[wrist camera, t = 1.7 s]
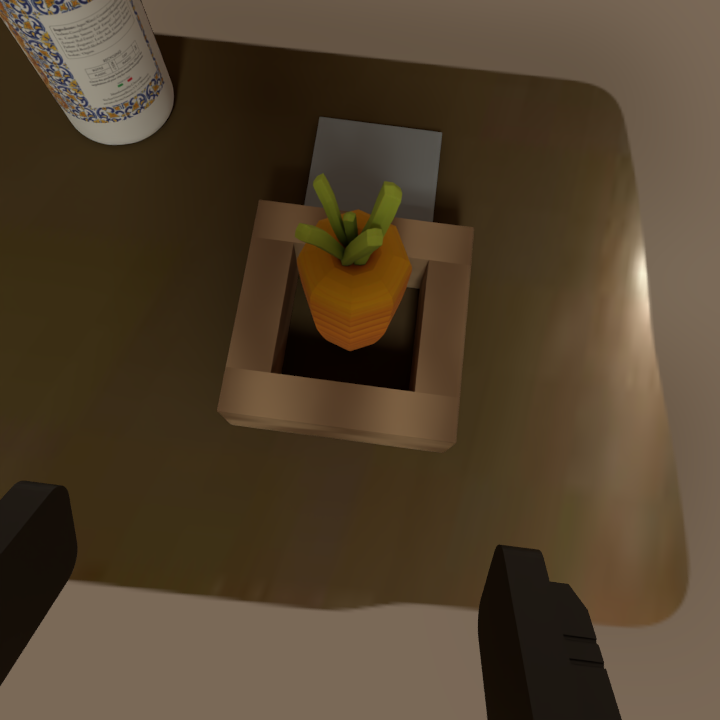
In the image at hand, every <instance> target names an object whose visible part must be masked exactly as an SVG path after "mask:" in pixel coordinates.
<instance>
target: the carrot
mask: <svg viewBox="0 0 720 720" xmlns="http://www.w3.org/2000/svg"><path fill="white" fill-rule="evenodd" d="M313 187H314V189H315V191H316V193H317V195H318V197H319V199H320V201H321V203H322V205H323V208H324V210H325V212H326V215H327V217H328V218H326V219H323V220H319V221H318V223H317V225H316V226H313V225H308V224H303V223H299V224H298V226H297V228H296V231H295V237H296V238H297V239H299V240H301V241H303V242H305V243H306V244H305V245H304V247H303V249H302V250H301V252H300V254H299V256H298V258H297V266H298V270H299V274H300V279H301V282H302V286H303V289H304V292H305V296H306V299H307V302H308V305H309V308H310V311H311V314H312V317H313V319H314V322H315V325H316V328H317V330H318V331H319V333H320V334H321V335H322V336H323V337H324V338H325V339H326V340H327V341H329V342H331V343H333V344H335V345H337V346H339V347H342V348H344V349H346V350H348V351H353V350H356V349H359V348H362V347H365V346H368V345H372V344H374V343H375V342H377V341H378V340H379V339H380V338H381V337H382V336H383V335H384V333H385V331H386V330H387V328H388V326H389V324H390V322H391V320H392V318H393V316H394V314H395V312H396V310H397V308H398V306H399V304H400V302H401V299H402V297H403V295H404V292H405V290H406V287H407V284H408V281H409V278H410V275H411V272H412V266H411V263H410V261H409V258H408V256H407V253H406V250H405V248H404V245H403V243H402V240H401V238H400V235H399V233H398V230H397V228H396V226H394V225H392V224H391V222H392V221H393V219H394V217H395V214H396V212H397V210H398V207H399V205H400V203H401V199H402V191H401V188H400V187H399V186H397V185H396V184H395V183H393V182H387V181H384V183H383V185H382V188H381V190H380V192H379V194H378V197H377V199H376V202H375V205H374V207H373V210H372V213H371V215H370V214H368V213H366V212H363V211H361V210H359V209H357V210H354V211H350V212H346V213H343V214H340V210H339V207H338V204H337V201H336V198H335V195H334V192H333V190H332V188H331V186H330V184H329V182H328V180H327V178H326V177H325V175H324V173H322V174H320V175H318V176H317V177H316V178H315V180H314V181H313Z"/></svg>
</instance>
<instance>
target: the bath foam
mask: <svg viewBox="0 0 720 720" xmlns="http://www.w3.org/2000/svg"><path fill="white" fill-rule="evenodd" d="M0 16H1V18H2V19H3V21H4V22H5V24H6V25H7V27H8V28H9V30H10V31H11V33H12V34H13V36H14V37H15V39H16V41H17V42H18V44H19V45H20V47H21V48H22V50H23V51H24V53H25V54H26V56H27V57H28V59H29V60H30V62H31V63H32V65H33V66H34V68H35V69H36V71H37V72H38V74H39V75H40V77H41V78H42V80H43V81H44V83H45V84H46V86H47V87H48V89H49V90H50V92H51V93H52V95H53V96H54V98H55V99H56V101H57V102H58V104H59V105H60V106H61V108H62V109H63V111H64V112H65V114H66V115H67V117H68V118H69V120H70V121H71V123H72V124H73V125H74V127H75V128H76V129H77V130H78V131H79V132H81V133H82V134H83V135H84V136H86V137H88V138H89V139H91V140H94V141H96V142H99V143H103V144H108V145H123V144H130V143H135V142H138V141H141V140H143V139H146V138H147V137H149V136H151V135H152V134H154V133H155V132H156V131H157V130H159V129H160V128H161V127H162V126H163V124H164V123H165V122H166V120H167V119H168V117H169V115H170V113H171V110H172V107H173V102H174V91H173V86H172V82H171V80H170V77H169V74H168V72H167V69H166V66H165V64H164V61H163V58H162V56H161V55H162V54H161V52H160V49H159V46H158V44H157V41H156V39H155V36H154V33H153V31H152V28H151V25H150V23H149V20H148V18H147V15H146V12H145V9H144V7H143V4H142V2H141V0H0Z"/></svg>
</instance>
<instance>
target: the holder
mask: <svg viewBox="0 0 720 720" xmlns="http://www.w3.org/2000/svg"><path fill="white" fill-rule="evenodd" d="M346 212H350V211H342V210H340V214H343V213H346ZM370 215H371V214H370ZM326 218H328V217H327V215H326V212H325V210H324V208H319V207H312V206H304V205H296V204H289V203H281V202H273V201H266V200H259V203H258V208H257V213H256V218H255V223H254V228H253V233H252V238H251V243H250V248H249V253H248V258H247V263H246V268H245V273H244V278H243V283H242V288H241V293H240V298H239V303H238V308H237V313H236V318H235V323H234V328H233V333H232V338H231V343H230V348H229V353H228V358H227V363H226V368H225V373H224V378H223V383H222V388H221V393H220V398H219V403H218V408H217V411H218V412H219V413H220V414H221V415H222V416H223V417H224V418H225V419H226V420H227V421H228V422H229V423H230V424H231V425H237V426H245V427H252V428H260V429H267V430H274V431H282V432H289V433H297V434H304V435H312V436H319V437H327V438H334V439H342V440H349V441H357V442H364V443H372V444H379V445H387V446H394V447H402V448H409V449H417V450H424V451H432V452H439V453H444V452H445V451H446V450H447V449H449V448H450V447H451V446H453V445H454V444H455V443H456V437H457V426H458V414H459V402H460V390H461V378H462V366H463V354H464V343H465V331H466V319H467V307H468V295H469V283H470V271H471V259H472V248H473V236H474V228H473V227H465V226H458V225H450V224H442V223H435V222H427V221H419V220H412V219H404V218H396V217H394V219H393V221H392V222H391V224H392V225H394V226H396V228H397V230H398V233H399V235H400V238H401V240H402V243H403V245H404V248H405V250H406V253H407V256H408V258H409V261H410V263H411V266H412V272H411V275H410V278H409V281H408V284H407V287H410V288H417V289H420V290H419V299H418V309H417V318H416V327H415V336H414V345H413V354H412V363H411V373H410V382H409V391H404V390H397V389H389V388H382V387H374V386H366V385H359V384H351V383H344V382H336V381H329V380H321V379H314V378H306V377H299V376H291V375H284V374H282V368H283V362H284V356H285V351H286V345H287V339H288V333H289V327H290V321H291V316H292V310H293V304H294V298H295V292H296V287H297V281H298V275H299V270H298V266H297V258H298V256H299V254H300V252H301V250H302V249H303V247H304V245H305V244H306V243H305V242H303V241H301V240H299V239H297V238H296V237H295V231H296V228H297V226H298V224H299V223H303V224H308V225H313V226H316V225H317V223H318V221H319V220H323V219H326Z"/></svg>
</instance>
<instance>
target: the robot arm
mask: <svg viewBox="0 0 720 720" xmlns="http://www.w3.org/2000/svg"><path fill="white" fill-rule="evenodd" d="M76 557H77V540H76V534H75V528H74V522H73V516H72V511H71V505H70V499H69V494H68V491H67V489H66V488H65V487H64V486H61V485H53V484H45V483H38V482H30V481H20V482H18V483H16V484H15V485H14V486H13V487H12V488H11V489H10V490H9V491H8V492H7V493H6V494H5V495H4V497H3V498H2V499H1V500H0V686H1V684H2V682H3V681H4V679H5V678H6V676H7V675H8V673H9V672H10V670H11V668H12V667H13V665H14V664H15V662H16V660H17V659H18V657H19V656H20V654H21V653H22V651H23V649H24V648H25V647H26V645H27V644H28V642H29V640H30V639H31V637H32V636H33V634H34V633H35V631H36V630H37V628H38V626H39V625H40V623H41V622H42V620H43V619H44V617H45V615H46V614H47V612H48V611H49V609H50V608H51V606H52V605H53V603H54V601H55V600H56V598H57V597H58V595H59V593H60V592H61V591H62V589H63V587H64V586H65V584H66V583H67V581H68V579H69V578H70V576H71V574H72V571H73V569H74V565H75V562H76ZM478 638H479V647H480V656H481V665H482V673H483V683H484V692H485V701H486V709H487V719H488V720H622V719H621V716H620V713H619V709H618V706H617V703H616V700H615V697H614V693H613V690H612V687H611V684H610V680H609V677H608V674H607V671H606V669H604V661H603V658H602V655H601V651H600V648H599V645H598V644H596V635H595V632H594V629H593V626H592V622H591V619H590V616H589V613H588V610H587V609H586V607H585V606H584V604H583V603H582V602H581V600H580V599H579V598H578V596H577V595H576V594H575V592H574V591H573V590H572V588H571V587H570V586H569V584H564V583H556V582H550V581H549V577H548V573H547V569H546V566H545V562H544V558H543V555H542V553H541V551H540V550H536V549H529V548H521V547H513V546H506V545H497V547H496V549H495V552H494V555H493V558H492V562H491V565H490V569H489V572H488V576H487V579H486V583H485V586H484V590H483V593H482V597H481V601H480V606H479V614H478Z"/></svg>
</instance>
